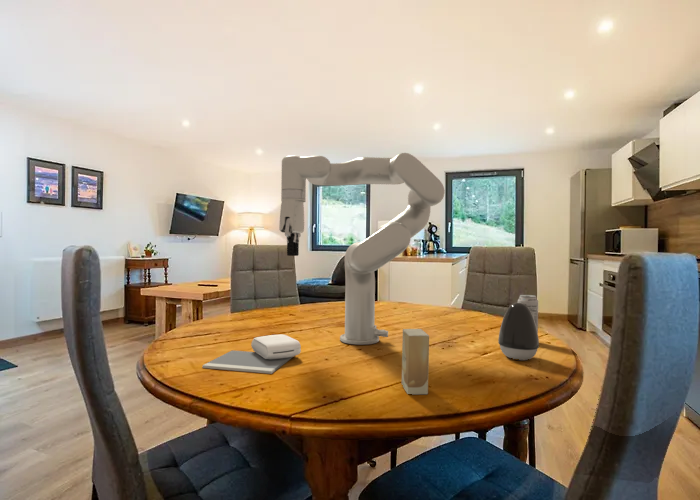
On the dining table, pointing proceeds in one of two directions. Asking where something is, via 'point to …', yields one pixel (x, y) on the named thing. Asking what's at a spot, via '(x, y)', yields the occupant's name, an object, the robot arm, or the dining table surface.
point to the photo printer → (276, 346)
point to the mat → (245, 362)
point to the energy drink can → (531, 306)
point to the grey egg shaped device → (518, 333)
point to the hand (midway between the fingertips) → (292, 255)
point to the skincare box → (415, 361)
